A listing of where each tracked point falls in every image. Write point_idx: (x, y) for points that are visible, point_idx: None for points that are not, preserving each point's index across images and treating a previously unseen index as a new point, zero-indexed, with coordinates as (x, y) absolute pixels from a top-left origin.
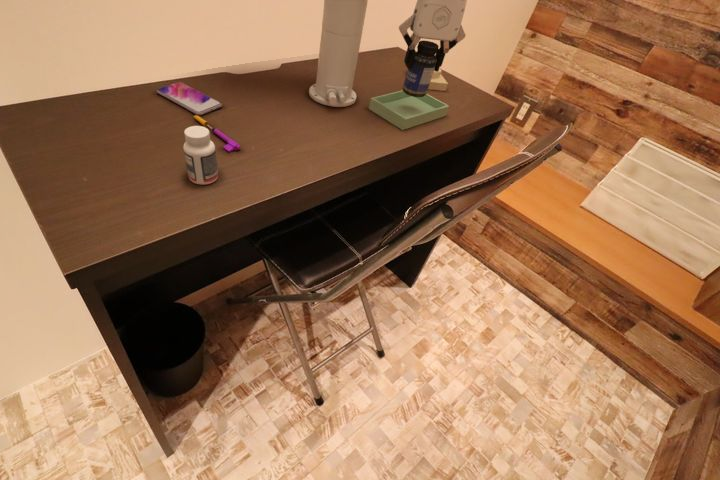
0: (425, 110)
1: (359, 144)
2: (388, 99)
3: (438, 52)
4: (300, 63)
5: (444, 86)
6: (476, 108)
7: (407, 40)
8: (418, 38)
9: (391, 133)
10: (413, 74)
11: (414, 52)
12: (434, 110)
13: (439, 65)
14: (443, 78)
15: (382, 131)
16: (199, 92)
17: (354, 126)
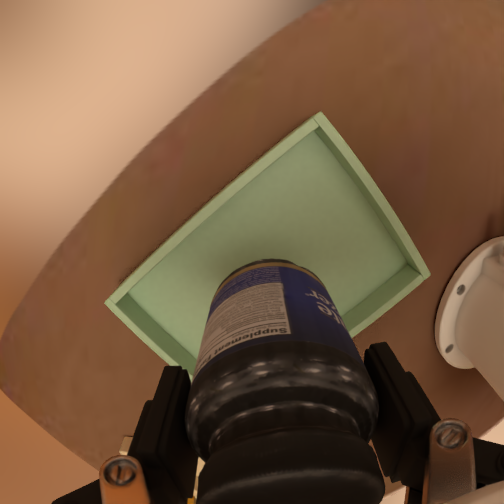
0: (194, 292)
1: (447, 21)
2: (345, 320)
3: (182, 475)
4: (481, 431)
5: (128, 445)
6: (38, 357)
7: (497, 455)
8: (445, 501)
9: (356, 86)
10: (336, 320)
11: (414, 411)
12: (167, 241)
13: (161, 389)
14: None
15: (386, 96)
16: None
17: (465, 122)
